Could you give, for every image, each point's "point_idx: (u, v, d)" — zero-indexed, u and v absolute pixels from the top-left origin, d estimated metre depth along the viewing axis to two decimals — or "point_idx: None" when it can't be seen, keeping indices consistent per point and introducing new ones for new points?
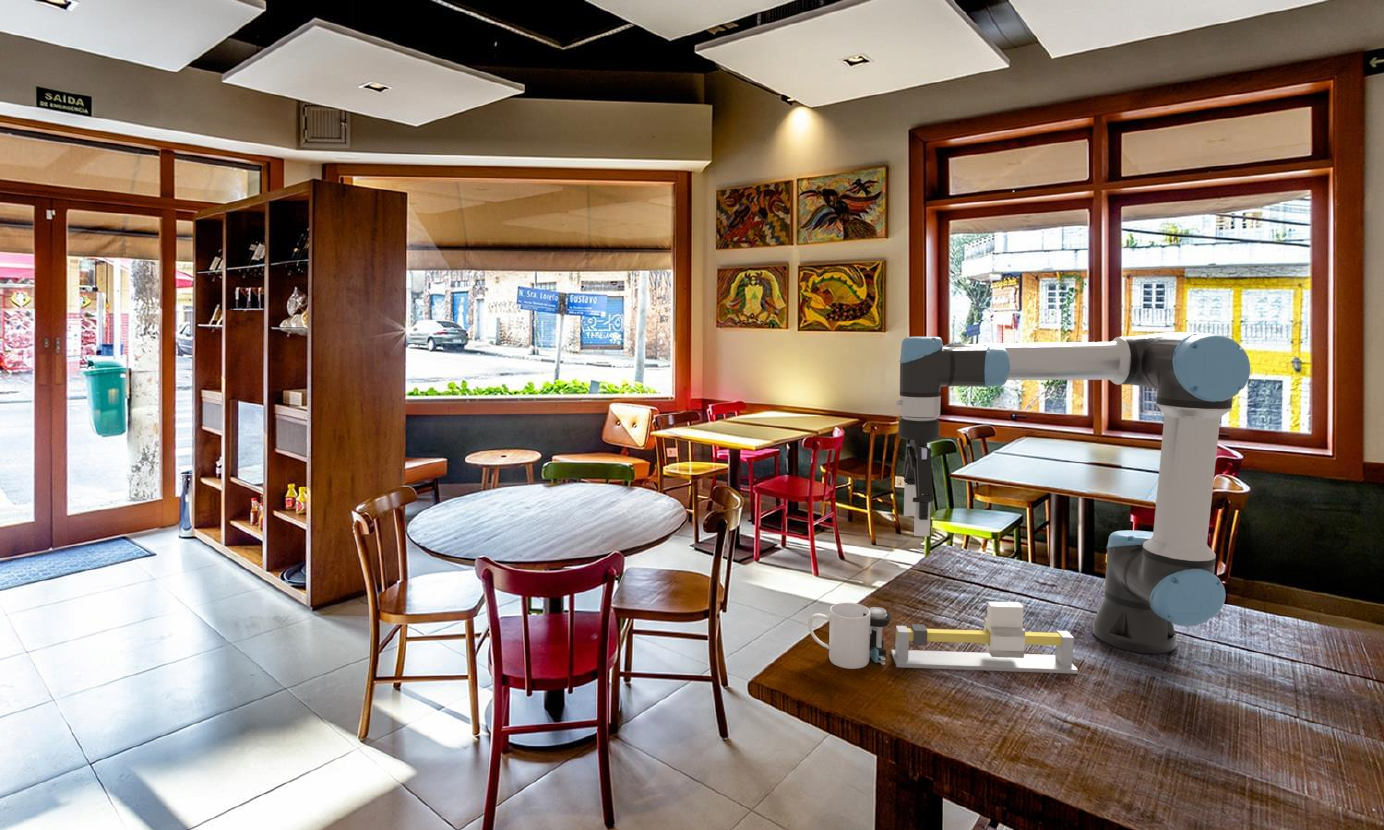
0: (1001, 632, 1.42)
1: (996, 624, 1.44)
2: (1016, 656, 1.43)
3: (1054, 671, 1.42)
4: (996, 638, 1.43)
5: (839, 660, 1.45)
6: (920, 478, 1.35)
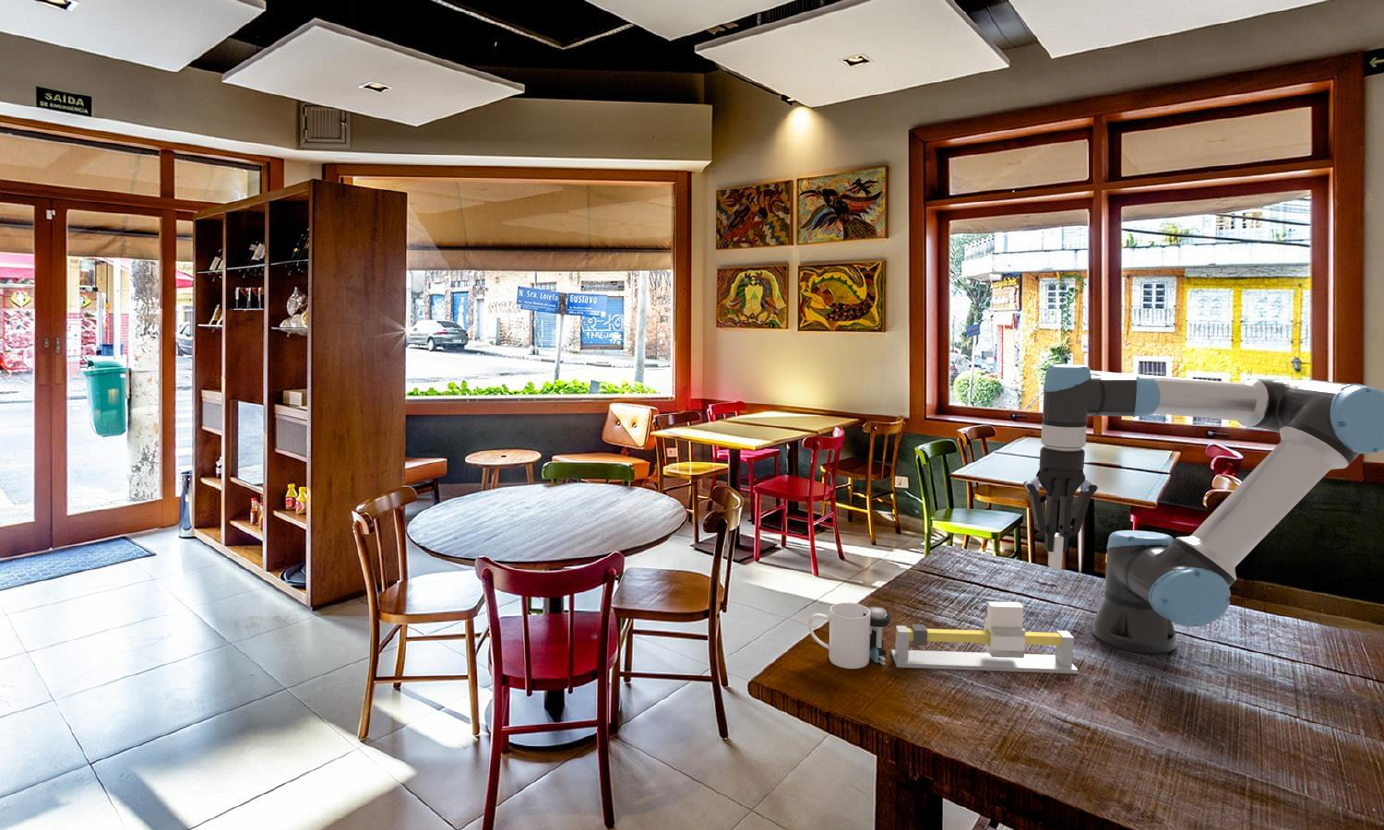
0: (1001, 632, 1.42)
1: (996, 624, 1.44)
2: (1016, 656, 1.43)
3: (1054, 671, 1.42)
4: (996, 638, 1.43)
5: (839, 660, 1.45)
6: (1032, 509, 1.42)
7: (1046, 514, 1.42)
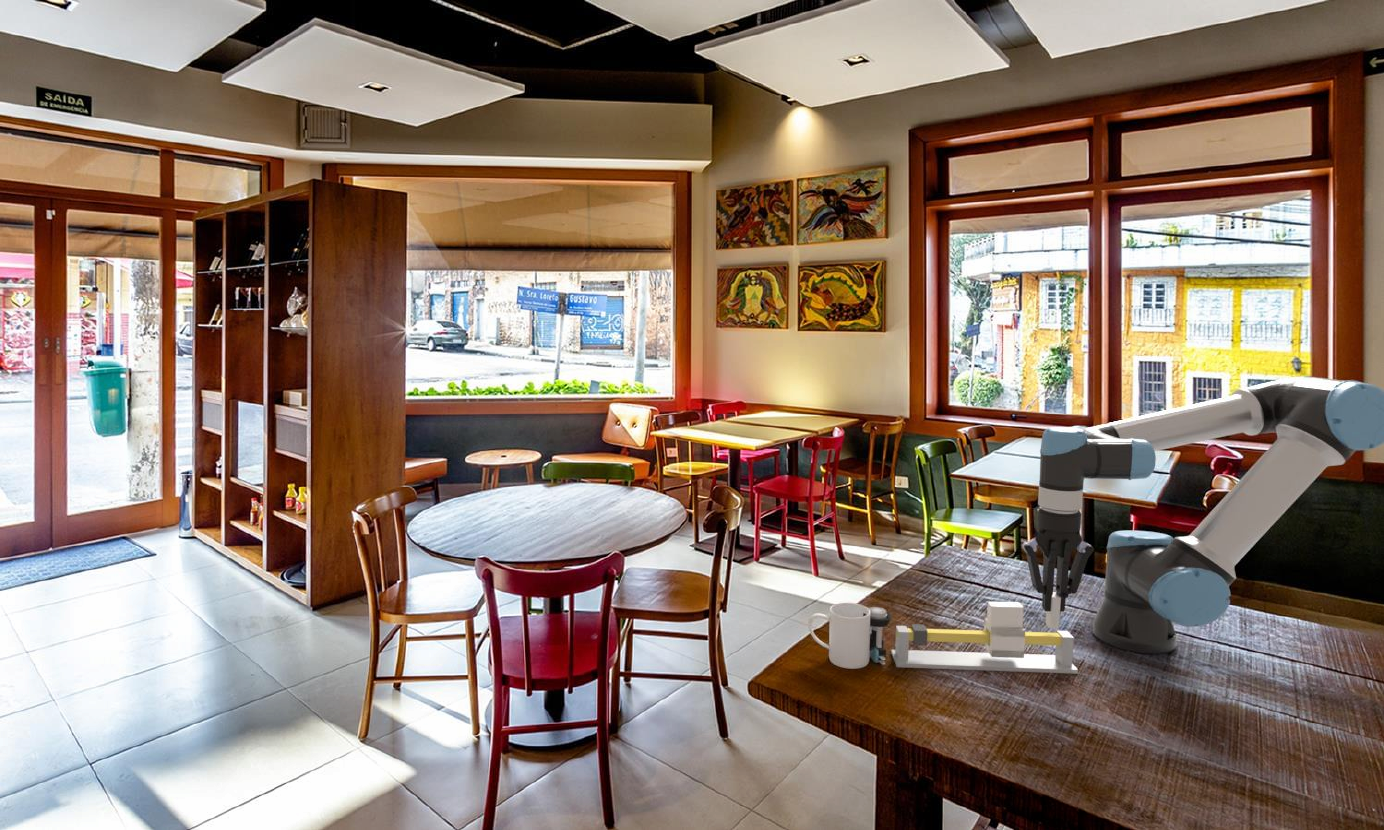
0: (1001, 632, 1.42)
1: (996, 624, 1.44)
2: (1016, 656, 1.43)
3: (1054, 671, 1.42)
4: (996, 638, 1.43)
5: (839, 660, 1.45)
6: (1029, 569, 1.44)
7: (1043, 574, 1.43)
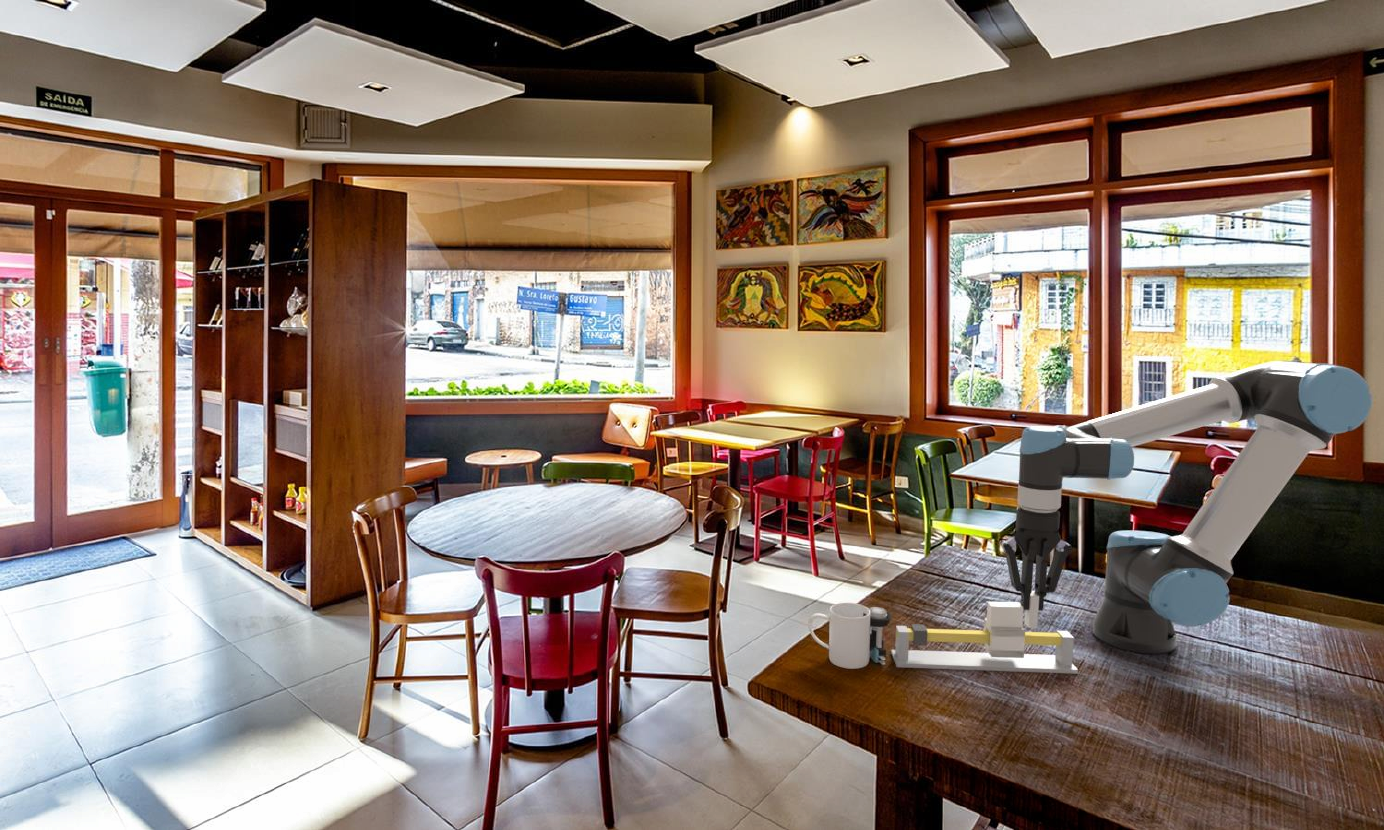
0: (1001, 632, 1.42)
1: (996, 624, 1.44)
2: (1016, 656, 1.43)
3: (1054, 671, 1.42)
4: (996, 638, 1.43)
5: (839, 660, 1.45)
6: (1008, 568, 1.44)
7: (1022, 573, 1.44)
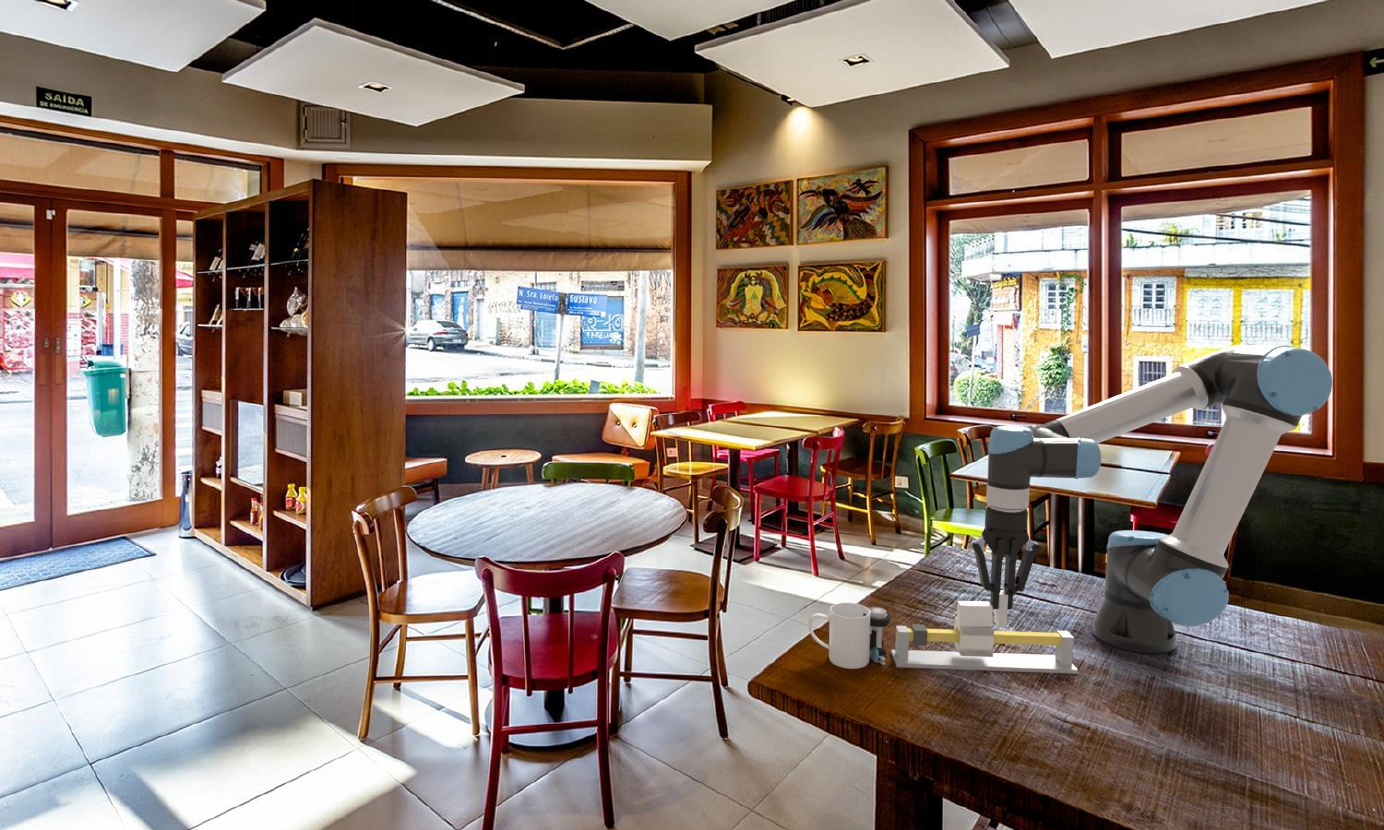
0: (970, 631, 1.43)
1: (965, 623, 1.44)
2: (985, 655, 1.43)
3: (1054, 671, 1.42)
4: (965, 637, 1.43)
5: (839, 660, 1.45)
6: (978, 567, 1.45)
7: (991, 572, 1.44)
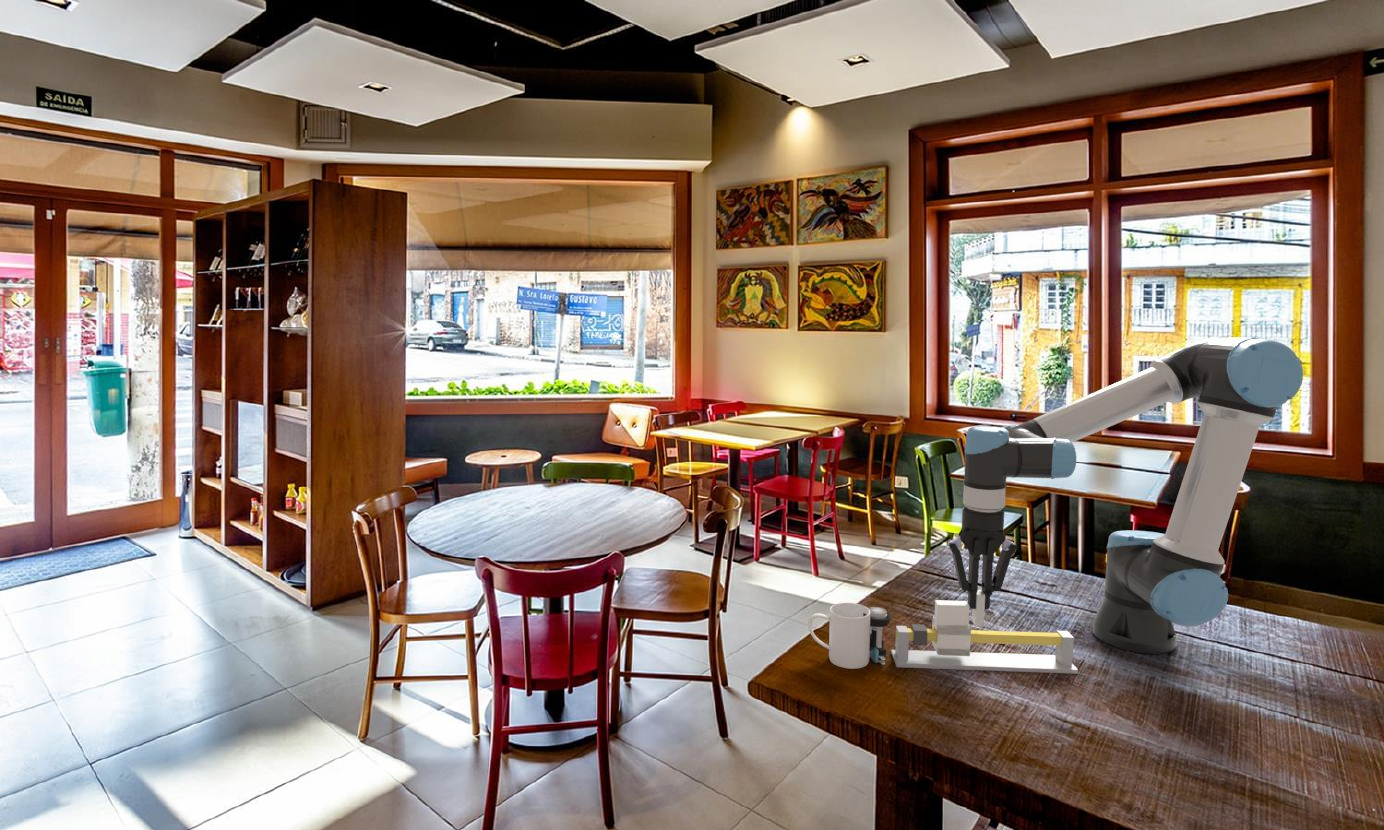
0: (947, 630, 1.43)
1: (942, 622, 1.45)
2: (962, 654, 1.44)
3: (1054, 671, 1.42)
4: (942, 637, 1.44)
5: (839, 660, 1.45)
6: (955, 567, 1.45)
7: (969, 572, 1.45)
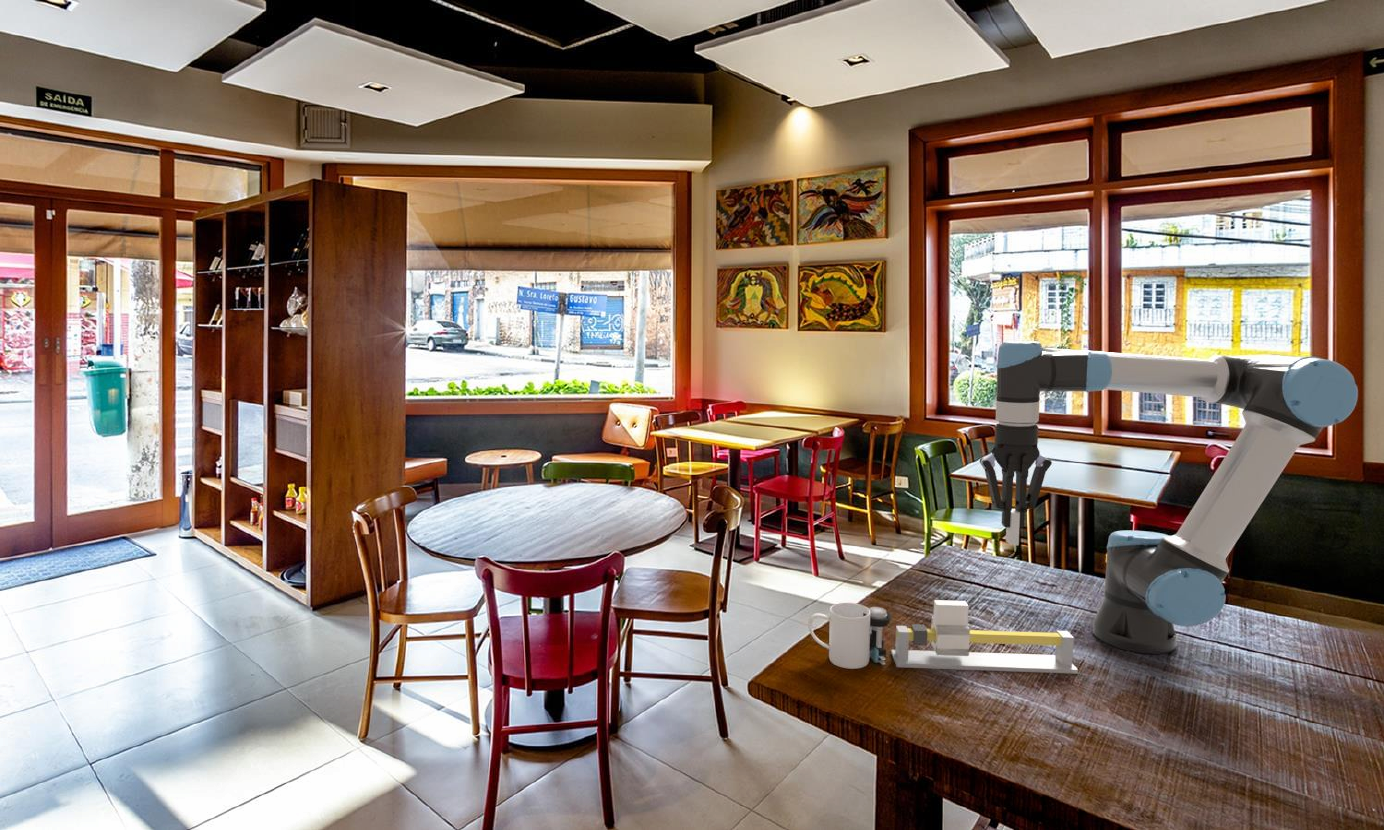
0: (946, 630, 1.43)
1: (942, 622, 1.45)
2: (961, 654, 1.44)
3: (1054, 671, 1.42)
4: (941, 637, 1.44)
5: (839, 660, 1.45)
6: (988, 486, 1.43)
7: (1002, 491, 1.43)
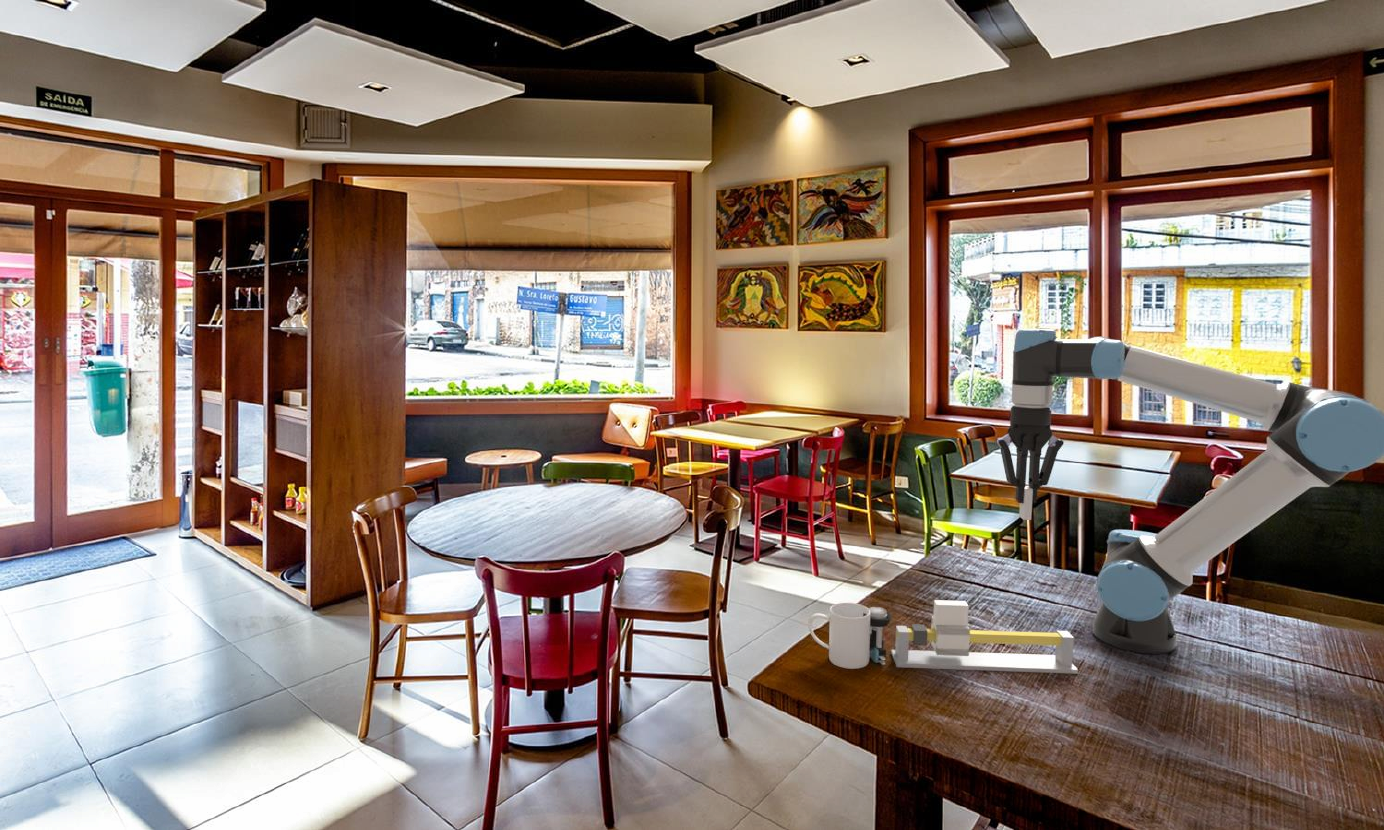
0: (946, 630, 1.43)
1: (942, 622, 1.45)
2: (961, 654, 1.44)
3: (1054, 671, 1.42)
4: (941, 637, 1.44)
5: (839, 660, 1.45)
6: (1004, 464, 1.53)
7: (1017, 469, 1.53)
